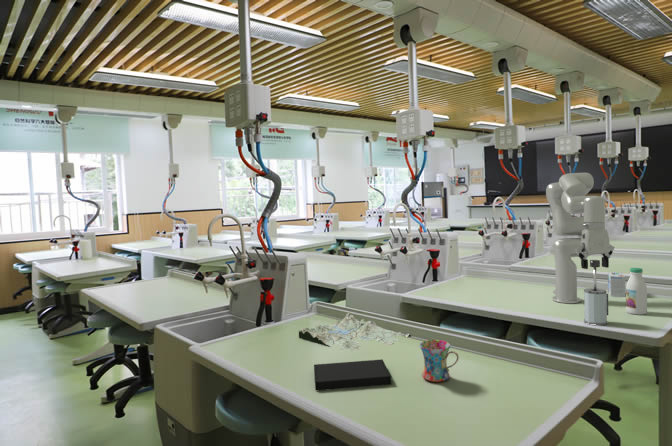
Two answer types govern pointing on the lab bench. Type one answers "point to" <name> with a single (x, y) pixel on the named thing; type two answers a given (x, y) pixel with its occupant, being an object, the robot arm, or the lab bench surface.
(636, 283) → the milk bottle
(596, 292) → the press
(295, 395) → the lab bench surface
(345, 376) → the external hard drive
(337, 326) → the topographic map model
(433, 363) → the mug
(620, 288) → the light bulb box
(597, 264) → the plunger
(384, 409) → the lab bench surface
